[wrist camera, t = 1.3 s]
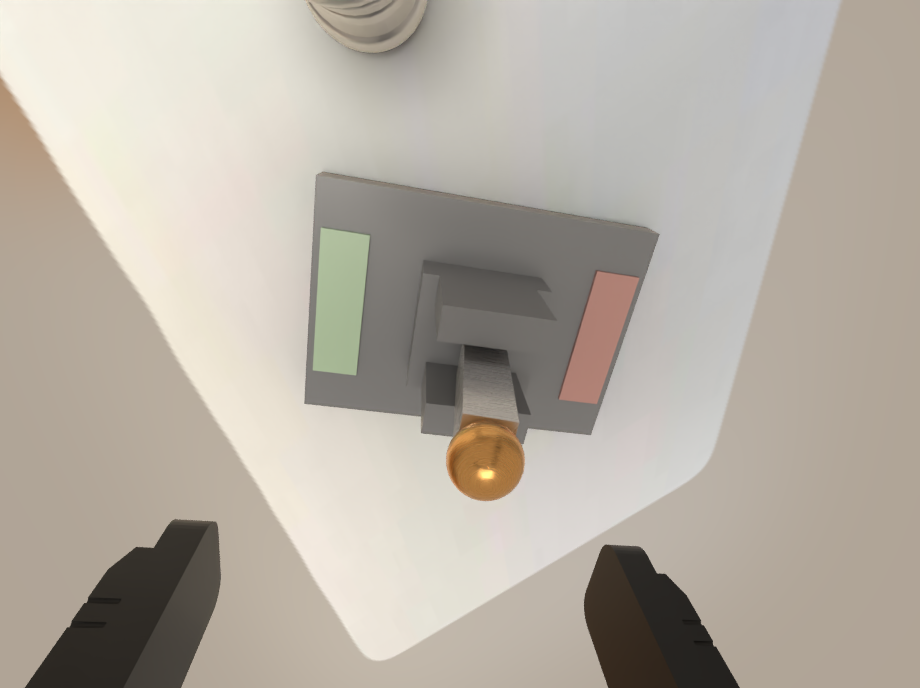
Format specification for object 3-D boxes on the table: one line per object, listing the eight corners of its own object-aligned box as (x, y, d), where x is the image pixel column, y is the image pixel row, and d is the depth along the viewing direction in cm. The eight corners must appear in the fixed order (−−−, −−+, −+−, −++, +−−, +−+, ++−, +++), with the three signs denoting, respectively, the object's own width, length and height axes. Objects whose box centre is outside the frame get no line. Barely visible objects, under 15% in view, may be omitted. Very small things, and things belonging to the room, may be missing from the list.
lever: (459, 318, 29) (452, 445, 18) (510, 327, 29) (537, 459, 18) (450, 365, 31) (438, 512, 19) (499, 373, 31) (518, 524, 19)
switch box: (322, 171, 31) (279, 193, 22) (646, 227, 33) (729, 267, 24) (310, 389, 37) (273, 477, 28) (583, 420, 40) (629, 509, 31)
